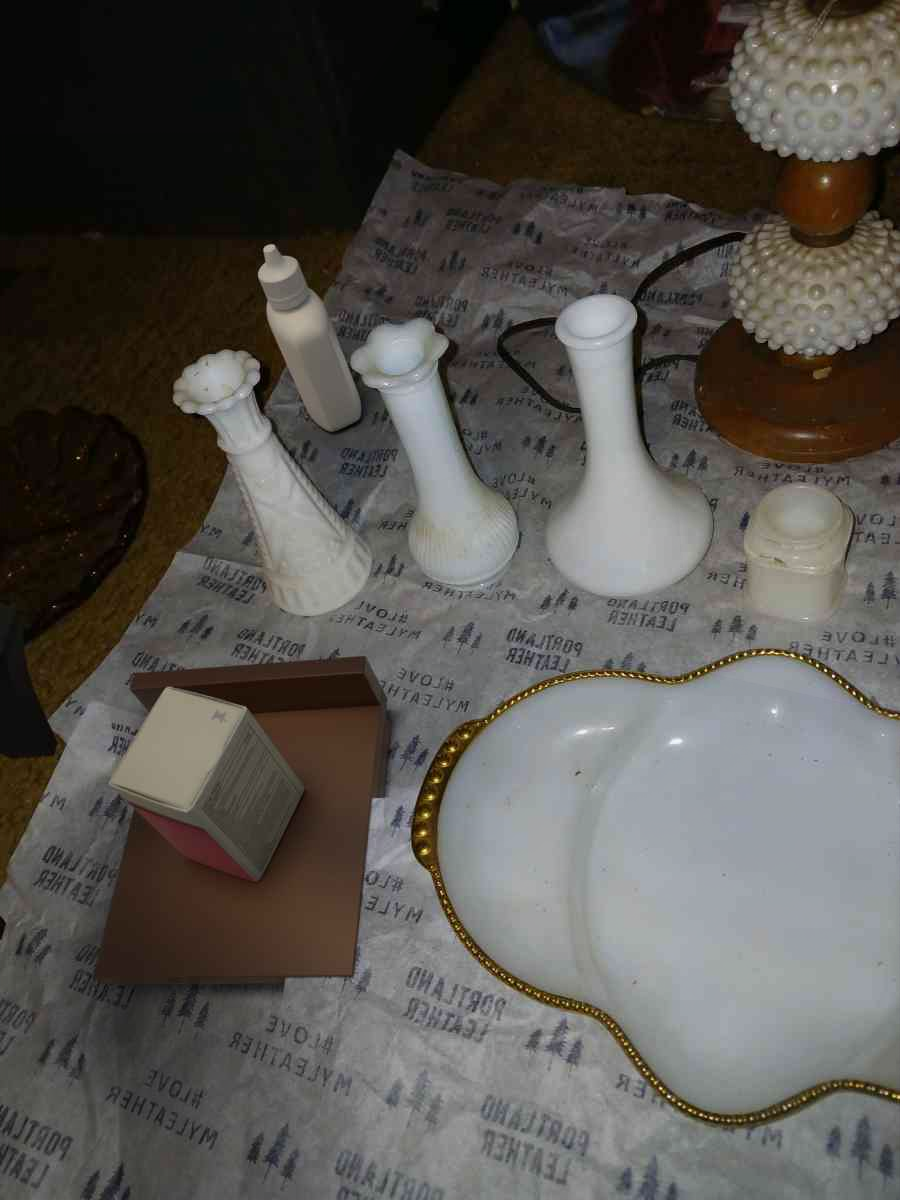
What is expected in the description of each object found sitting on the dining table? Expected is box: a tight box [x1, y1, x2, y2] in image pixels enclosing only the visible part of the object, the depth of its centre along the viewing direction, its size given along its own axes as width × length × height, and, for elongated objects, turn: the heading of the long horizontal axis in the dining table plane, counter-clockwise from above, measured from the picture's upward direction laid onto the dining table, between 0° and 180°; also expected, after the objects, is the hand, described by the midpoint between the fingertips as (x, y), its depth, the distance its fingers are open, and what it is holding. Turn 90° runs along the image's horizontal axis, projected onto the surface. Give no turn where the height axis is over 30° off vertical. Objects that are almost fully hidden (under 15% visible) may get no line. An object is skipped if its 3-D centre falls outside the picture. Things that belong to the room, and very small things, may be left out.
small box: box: [108, 687, 305, 882], centre depth 47 cm, size 5×4×8 cm
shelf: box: [92, 655, 392, 986], centre depth 50 cm, size 14×12×5 cm
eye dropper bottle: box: [257, 243, 362, 433], centre depth 64 cm, size 4×6×12 cm
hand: (8, 836), depth 42 cm, fingers open, 7 cm apart
